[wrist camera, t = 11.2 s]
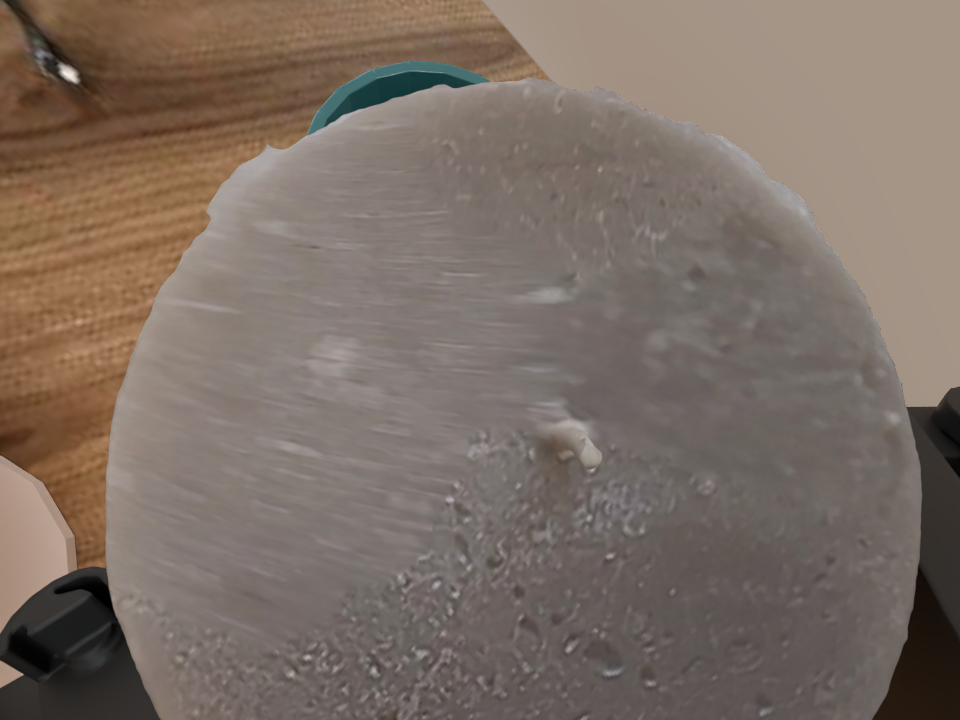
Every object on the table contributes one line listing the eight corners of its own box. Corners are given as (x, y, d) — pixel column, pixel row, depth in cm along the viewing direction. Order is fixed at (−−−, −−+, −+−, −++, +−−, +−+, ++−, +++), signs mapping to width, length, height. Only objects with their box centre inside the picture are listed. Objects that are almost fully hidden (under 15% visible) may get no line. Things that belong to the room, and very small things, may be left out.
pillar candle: (499, 617, 18) (908, 1488, 3) (283, 483, 17) (-437, 695, 3) (612, 403, 20) (1173, 286, 5) (421, 283, 20) (434, -195, 5)
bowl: (566, 199, 36) (594, 151, 30) (457, 357, 33) (465, 339, 27) (403, 88, 36) (400, 19, 30) (276, 235, 32) (245, 190, 27)
